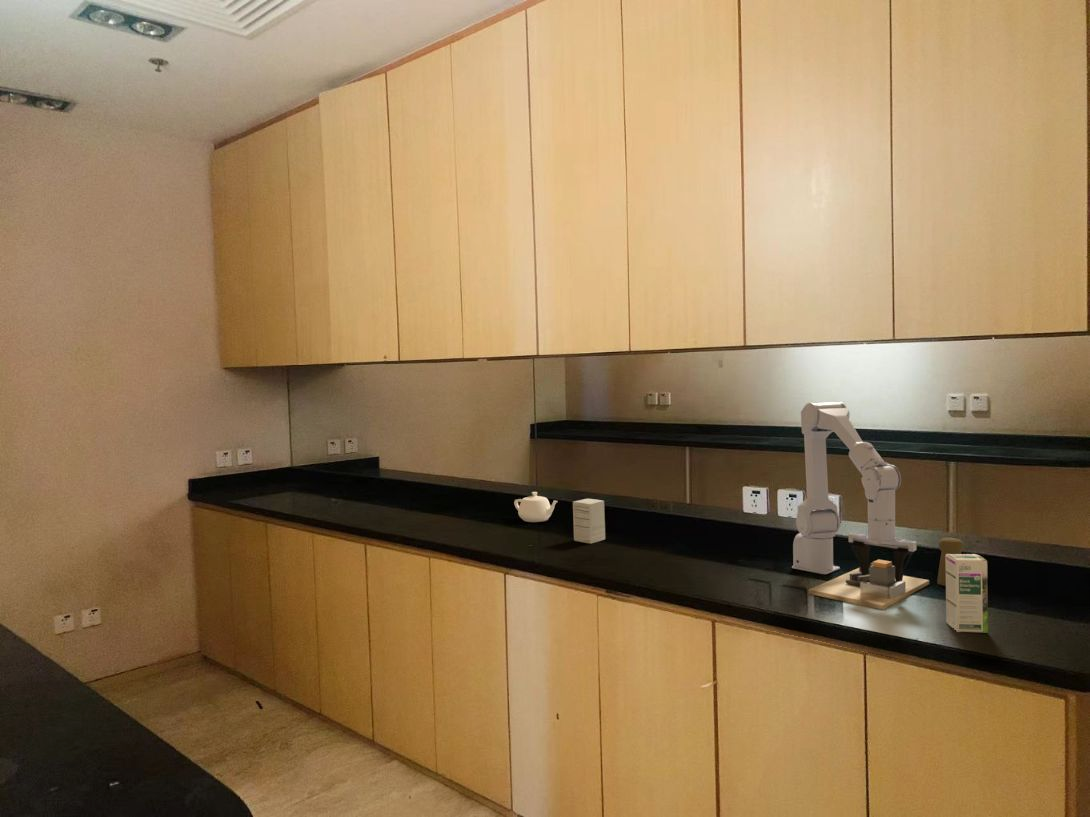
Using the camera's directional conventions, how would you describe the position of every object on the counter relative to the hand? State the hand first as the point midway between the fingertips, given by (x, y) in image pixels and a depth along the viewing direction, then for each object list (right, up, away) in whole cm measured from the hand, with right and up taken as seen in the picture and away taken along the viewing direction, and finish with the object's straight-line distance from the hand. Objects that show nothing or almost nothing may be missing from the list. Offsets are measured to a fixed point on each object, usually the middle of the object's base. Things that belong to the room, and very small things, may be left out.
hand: (881, 577), depth 167 cm
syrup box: (+7, -5, -21) cm, 23 cm away
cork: (+21, -4, +9) cm, 23 cm away
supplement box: (-63, -3, +65) cm, 91 cm away
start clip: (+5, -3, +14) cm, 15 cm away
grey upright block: (0, -3, 0) cm, 3 cm away
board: (0, -4, +6) cm, 7 cm away
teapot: (-80, -2, +101) cm, 129 cm away
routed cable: (0, -3, +7) cm, 8 cm away
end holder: (0, -3, 0) cm, 3 cm away
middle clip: (-1, -3, +8) cm, 9 cm away
